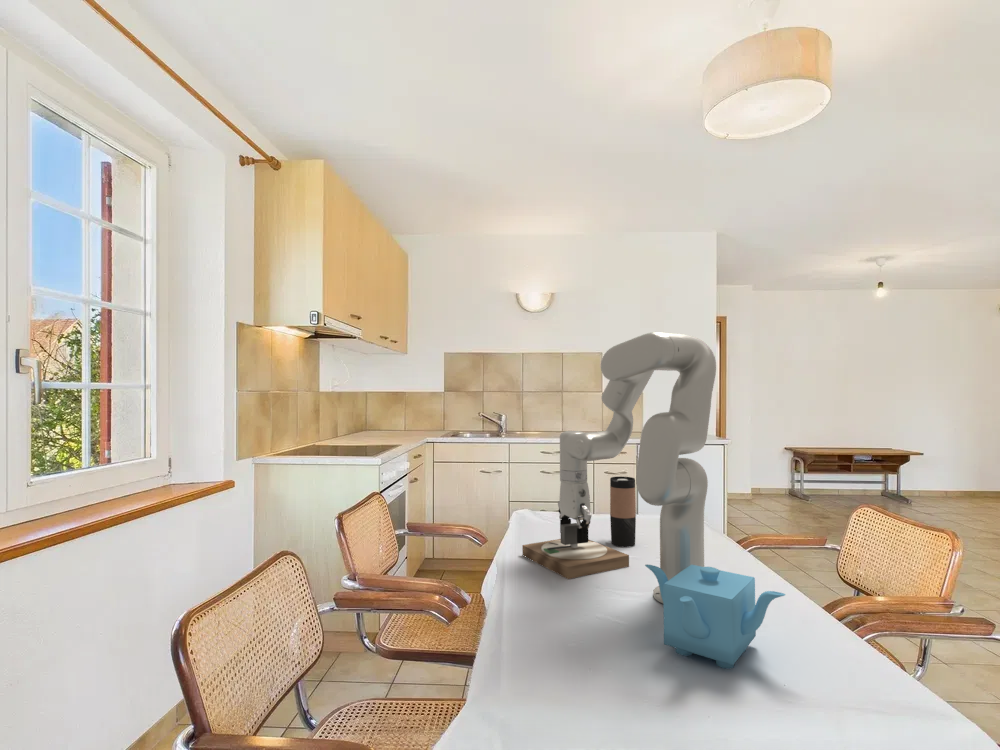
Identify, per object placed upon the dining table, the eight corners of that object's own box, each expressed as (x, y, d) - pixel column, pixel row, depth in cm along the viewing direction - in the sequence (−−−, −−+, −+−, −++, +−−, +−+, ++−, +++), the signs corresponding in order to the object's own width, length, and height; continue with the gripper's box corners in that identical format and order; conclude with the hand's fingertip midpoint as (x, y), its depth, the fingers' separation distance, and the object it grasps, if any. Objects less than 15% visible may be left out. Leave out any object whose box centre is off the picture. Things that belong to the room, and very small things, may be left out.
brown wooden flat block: (629, 566, 145) (628, 553, 145) (568, 579, 136) (567, 564, 136) (579, 545, 165) (578, 533, 165) (522, 555, 155) (522, 543, 155)
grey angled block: (583, 544, 153) (582, 522, 153) (587, 546, 150) (587, 524, 150) (545, 548, 149) (545, 526, 149) (549, 551, 146) (549, 528, 146)
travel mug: (634, 540, 170) (633, 476, 170) (637, 547, 162) (637, 480, 163) (609, 540, 171) (608, 476, 171) (611, 547, 163) (611, 480, 163)
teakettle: (731, 626, 109) (730, 552, 109) (791, 674, 90) (789, 585, 91) (640, 631, 107) (639, 555, 107) (682, 681, 88) (681, 590, 89)
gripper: (601, 479, 144) (602, 544, 144) (570, 470, 160) (571, 529, 160) (576, 481, 141) (577, 547, 141) (547, 472, 157) (548, 531, 157)
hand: (573, 537), depth 150 cm, fingers open, 9 cm apart
